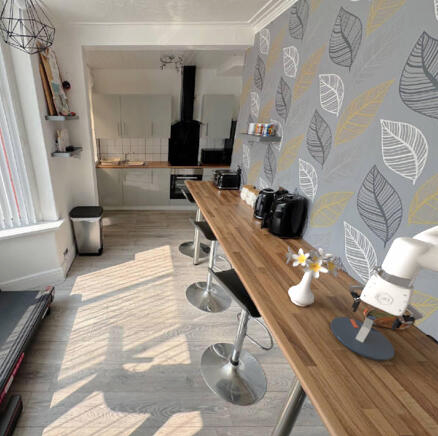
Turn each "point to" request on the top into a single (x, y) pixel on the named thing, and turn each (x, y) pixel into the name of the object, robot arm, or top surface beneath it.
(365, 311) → the tin
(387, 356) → the rotary dial knob
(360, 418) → the top surface
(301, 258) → the flower vase
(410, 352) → the top surface
